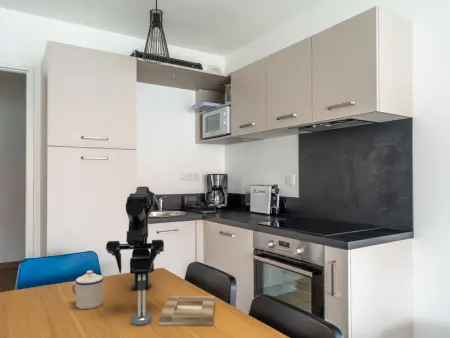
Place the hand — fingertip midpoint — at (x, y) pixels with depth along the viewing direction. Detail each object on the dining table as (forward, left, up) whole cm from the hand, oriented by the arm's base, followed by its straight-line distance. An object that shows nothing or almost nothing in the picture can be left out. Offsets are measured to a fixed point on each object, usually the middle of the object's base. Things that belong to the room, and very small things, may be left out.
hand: (134, 272), depth 113 cm
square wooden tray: (+1, +18, -13) cm, 22 cm away
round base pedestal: (+7, +4, -13) cm, 15 cm away
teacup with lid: (-7, -19, -13) cm, 24 cm away
